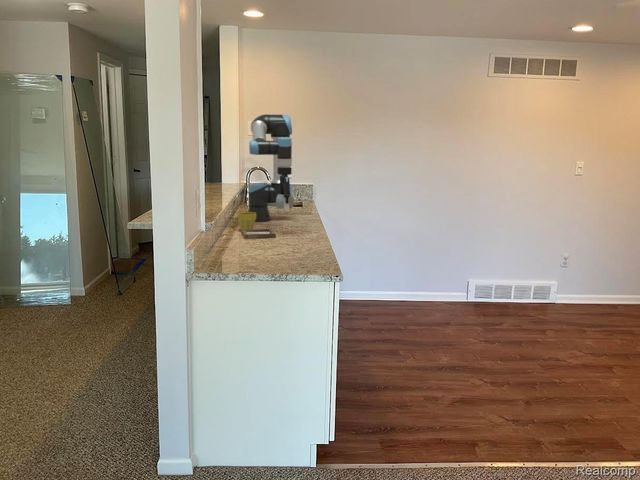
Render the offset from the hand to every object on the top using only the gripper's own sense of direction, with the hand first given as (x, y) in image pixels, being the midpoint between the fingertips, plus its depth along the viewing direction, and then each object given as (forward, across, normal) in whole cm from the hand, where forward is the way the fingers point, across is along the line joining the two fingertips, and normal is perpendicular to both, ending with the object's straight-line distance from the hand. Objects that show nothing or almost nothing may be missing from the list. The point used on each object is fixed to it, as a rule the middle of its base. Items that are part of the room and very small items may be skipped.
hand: (284, 208), depth 279 cm
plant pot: (+14, -14, -18) cm, 27 cm away
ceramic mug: (0, 0, 0) cm, 1 cm away
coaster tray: (+14, +4, -15) cm, 21 cm away
